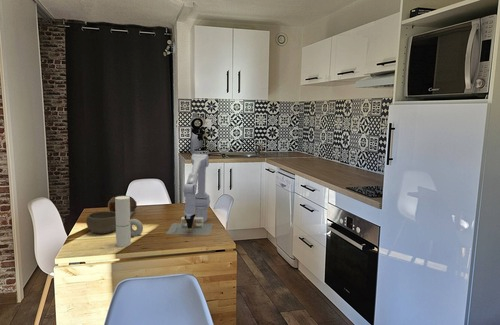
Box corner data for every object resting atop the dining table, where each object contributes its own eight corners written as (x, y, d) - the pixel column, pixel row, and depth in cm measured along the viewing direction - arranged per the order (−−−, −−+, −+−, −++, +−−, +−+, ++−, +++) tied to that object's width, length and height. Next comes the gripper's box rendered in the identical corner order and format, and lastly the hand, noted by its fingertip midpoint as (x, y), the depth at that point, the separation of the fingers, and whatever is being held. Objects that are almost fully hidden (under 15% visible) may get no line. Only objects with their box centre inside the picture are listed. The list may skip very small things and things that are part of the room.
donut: (124, 236, 204) (124, 219, 202) (127, 234, 207) (127, 217, 206) (141, 238, 202) (141, 220, 200) (144, 236, 205) (144, 218, 204)
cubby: (172, 224, 228) (172, 214, 227) (213, 224, 228) (213, 214, 227) (166, 235, 207) (165, 224, 206) (210, 236, 207) (210, 225, 207)
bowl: (125, 228, 218) (125, 211, 217) (106, 237, 201) (106, 220, 200) (101, 225, 222) (100, 209, 221) (80, 234, 205) (79, 217, 204)
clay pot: (141, 193, 259) (129, 194, 234) (143, 214, 258) (131, 218, 233) (121, 195, 259) (106, 196, 234) (123, 217, 258) (108, 220, 233)
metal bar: (175, 228, 218) (175, 226, 217) (177, 228, 218) (177, 226, 218) (172, 233, 208) (172, 231, 208) (174, 233, 208) (174, 231, 208)
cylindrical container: (132, 242, 195) (131, 196, 192) (128, 247, 188) (127, 199, 185) (118, 242, 195) (117, 196, 191) (114, 246, 188) (113, 199, 184)
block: (189, 225, 223) (189, 219, 223) (196, 225, 223) (196, 219, 223) (188, 227, 219) (188, 220, 219) (195, 227, 219) (195, 221, 219)
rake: (186, 227, 219) (187, 216, 218) (197, 227, 219) (197, 216, 219) (184, 232, 210) (184, 220, 209) (195, 232, 210) (195, 220, 209)
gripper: (184, 201, 216) (184, 223, 217) (180, 207, 201) (181, 231, 203) (196, 201, 216) (196, 223, 218) (193, 207, 201) (193, 231, 203)
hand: (190, 227), depth 210 cm, fingers closed on rake
